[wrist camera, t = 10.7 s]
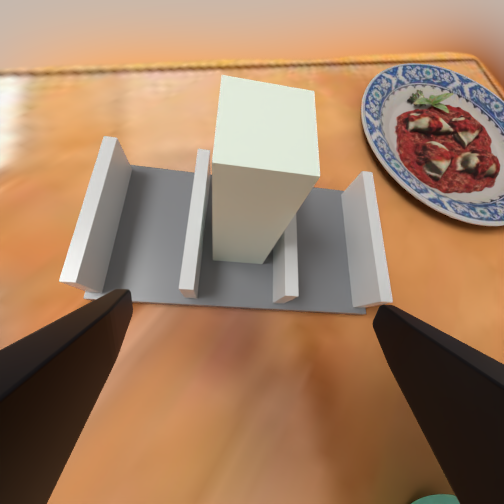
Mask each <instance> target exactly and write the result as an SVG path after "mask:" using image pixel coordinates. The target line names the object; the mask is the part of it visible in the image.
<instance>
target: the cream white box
mask: <svg viewBox="0 0 504 504" xmlns="http://www.w3.org/2000/svg"><path fill="white" fill-rule="evenodd" d="M319 178H320V166H319V152H318V138H317V124H316V110H315V96H314V91H311V90H305V89H299V88H293V87H288V86H282V85H276V84H271V83H265V82H259V81H254V80H248V79H242V78H237V77H231V76H225V75H222V77H221V86H220V95H219V104H218V113H217V122H216V131H215V140H214V149H213V158H212V234H213V260H215V261H228V262H241V263H253V264H263V262H264V261H265V259H266V258H267V256H268V255H269V253H270V252H271V250H272V249H273V247H274V246H275V244H276V243H277V241H278V239H279V238H280V236H281V235H282V233H283V232H284V230H285V229H286V227H287V226H288V224H289V223H290V221H291V220H292V218H293V217H294V215H295V214H296V212H297V211H298V209H299V208H300V206H301V205H302V203H303V202H304V200H305V199H306V197H307V196H308V194H309V193H310V191H311V190H312V188H313V187H314V185H315V184H316V182H317V181H318V179H319Z"/></svg>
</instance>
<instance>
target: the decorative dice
mask: <svg viewBox="0 0 504 504" xmlns="http://www.w3.org/2000/svg"><path fill="white" fill-rule="evenodd" d="M411 504H460V503H459V501H458V499H457V497H456V496H454V495H451V494H436V495H430V496H425V497H423V498H420V499H418V500H416V501H414V502H413V503H411Z"/></svg>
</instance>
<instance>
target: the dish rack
mask: <svg viewBox="0 0 504 504" xmlns="http://www.w3.org/2000/svg"><path fill="white" fill-rule="evenodd" d="M59 282H62V283H65V284H67V285H70V286H73V287H75V288H78V289H81V290H84V291H85V295H84V299H87V300H96V299H98V298H100V297H101V296H103V295H105V294H107V293H109V292H111V291H113V290H115V289H129V290H130V291H131V296H132V303H149V304H168V305H186V306H205V307H223V308H242V309H260V310H279V311H297V312H316V313H334V314H353V315H362V314H366V309H365V308H366V307H372V306H377V305H382V304H387V303H392V302H393V300H392V293H391V287H390V281H389V274H388V268H387V262H386V256H385V249H384V243H383V237H382V230H381V224H380V218H379V212H378V205H377V199H376V193H375V186H374V180H373V174H372V172H366V171H362V172H361V173H360V174H359V175H358V176H357V178H356V179H355V180H354V181H353V182H352V183H351V184H350V185H349V187H348V188H347V189H346V190H345V191H339V190H330V189H322V188H314V187H313V188H312V190H311V191H310V193H309V194H308V196H307V197H306V199H305V200H304V202H303V203H302V205H301V206H300V208H299V209H298V211H297V212H296V214H295V215H294V217H293V218H292V220H291V221H290V223H289V224H288V226H287V227H286V229H285V230H284V232H283V233H282V235H281V236H280V238H279V239H278V241H277V243H276V244H275V246H274V247H273V249H272V250H271V252H270V253H269V255H268V256H267V258H266V259H265V261H264V262H263V264H253V263H241V262H228V261H215V260H213V234H212V175H210V150H203V149H198V153H197V160H196V167H195V173H192V172H184V171H176V170H168V169H160V168H151V167H143V166H135V165H130V164H129V162H128V160H127V158H126V155H125V153H124V151H123V149H122V147H121V145H120V143H119V141H118V139H117V138H115V137H107V136H104V137H103V141H102V144H101V147H100V150H99V154H98V157H97V160H96V163H95V166H94V170H93V173H92V176H91V179H90V183H89V186H88V189H87V192H86V195H85V199H84V202H83V205H82V208H81V212H80V215H79V218H78V221H77V224H76V228H75V231H74V234H73V237H72V241H71V244H70V247H69V250H68V253H67V257H66V260H65V263H64V266H63V270H62V273H61V276H60V279H59Z"/></svg>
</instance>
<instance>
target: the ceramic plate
mask: <svg viewBox="0 0 504 504" xmlns="http://www.w3.org/2000/svg"><path fill="white" fill-rule="evenodd" d="M361 118H362V124H363V128H364V132H365V135H366V137H367V140H368V142H369V144H370V146H371V148H372V150H373V152H374V153H375V155H376V157H377V158H378V160H379V161H380V163H381V164H382V165H383V167H384V168H385V169H386V170H387V172H388V173H389V174H390V175H391V176H392V177H393V178H394V179H395V180H396V181H397V182H398V183H399V184H400V185H401V186H402V187H403V188H404V189H405V190H406V191H408V192H409V193H410V194H411V195H413V196H414V197H415V198H417V199H418V200H420V201H421V202H423V203H424V204H426V205H427V206H429V207H431V208H433V209H434V210H436V211H438V212H440V213H442V214H444V215H447V216H449V217H451V218H454V219H457V220H460V221H463V222H466V223H470V224H475V225H482V226H502V225H504V101H503V100H502V99H500V98H499V97H498V96H497V95H495V94H494V93H492V92H491V91H490V90H488V89H487V88H485V87H484V86H483V85H481V84H479V83H477V82H476V81H474V80H472V79H470V78H468V77H466V76H464V75H462V74H459V73H457V72H454V71H452V70H449V69H446V68H442V67H438V66H434V65H429V64H401V65H397V66H393V67H390V68H388V69H386V70H384V71H382V72H380V73H379V74H377V75H376V76H375V77H374V78H373V79H372V80H371V82H370V83H369V85H368V86H367V88H366V90H365V93H364V95H363V98H362V105H361Z"/></svg>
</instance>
